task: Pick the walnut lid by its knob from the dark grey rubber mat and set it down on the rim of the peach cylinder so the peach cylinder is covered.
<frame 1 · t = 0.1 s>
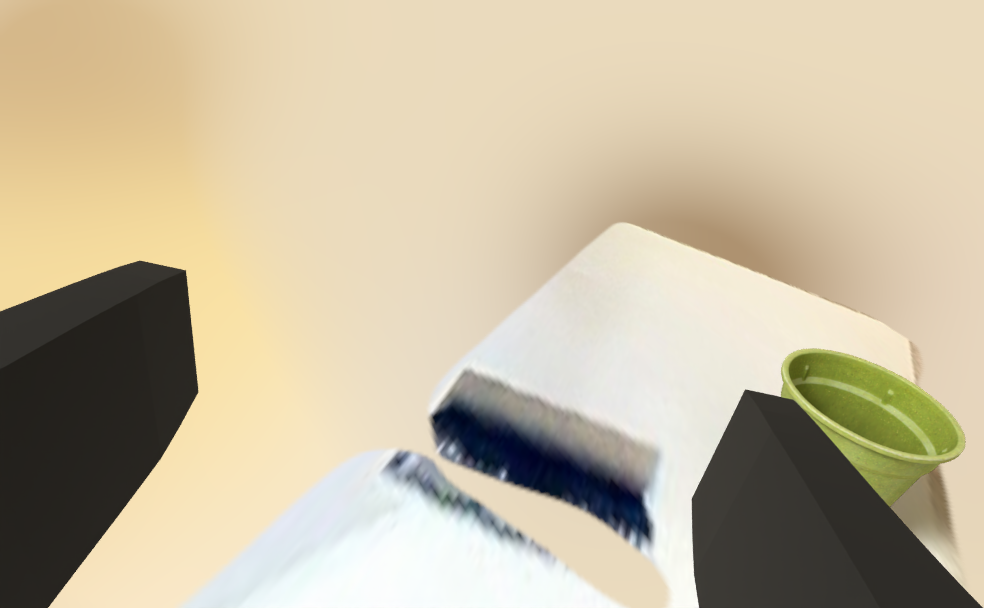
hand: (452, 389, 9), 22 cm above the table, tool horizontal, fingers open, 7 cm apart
plant pot: (803, 512, 41), on the table
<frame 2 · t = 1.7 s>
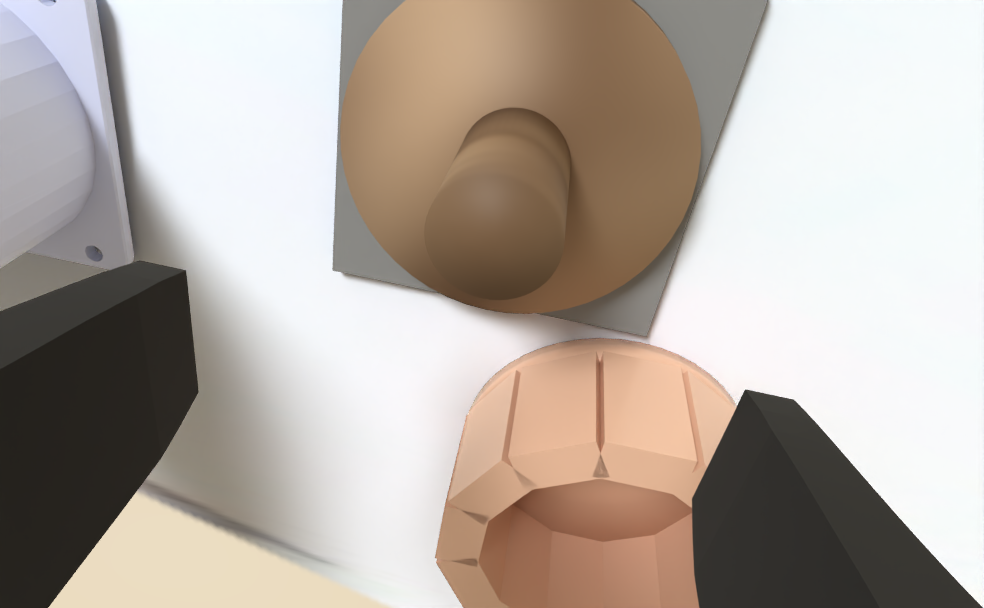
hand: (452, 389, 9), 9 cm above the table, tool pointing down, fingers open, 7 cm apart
lid: (518, 151, 16), resting on mat
peach cylinder: (601, 451, 22), on the table
mat: (519, 146, 17), on the table
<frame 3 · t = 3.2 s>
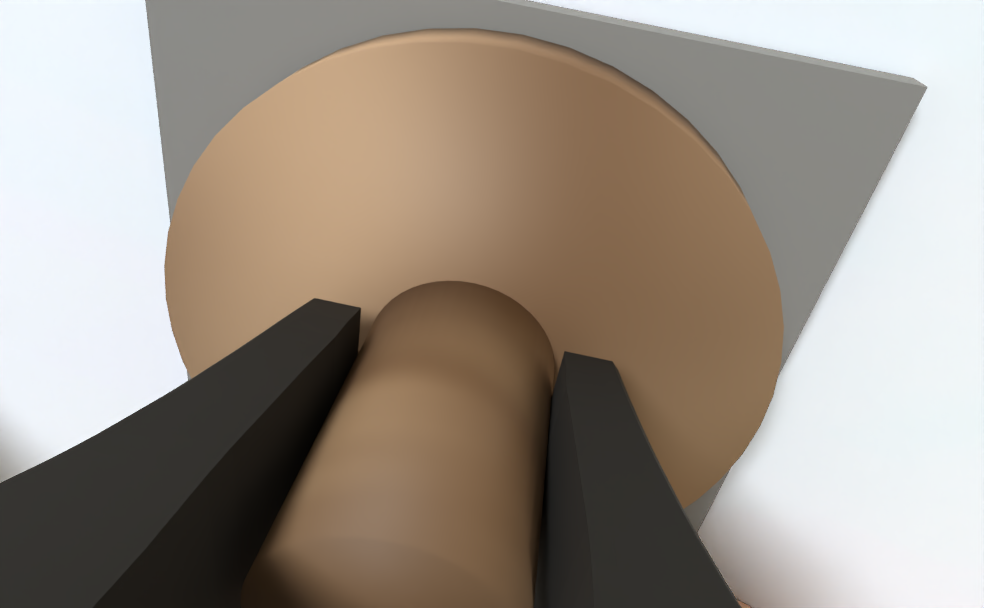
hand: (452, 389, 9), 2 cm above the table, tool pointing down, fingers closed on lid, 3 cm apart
lid: (469, 329, 10), resting on mat, touching gripper
mat: (473, 314, 10), on the table
when the fingers open (7 cm above the table, at t = 5.4 s): lid stays where it is, resting on peach cylinder.
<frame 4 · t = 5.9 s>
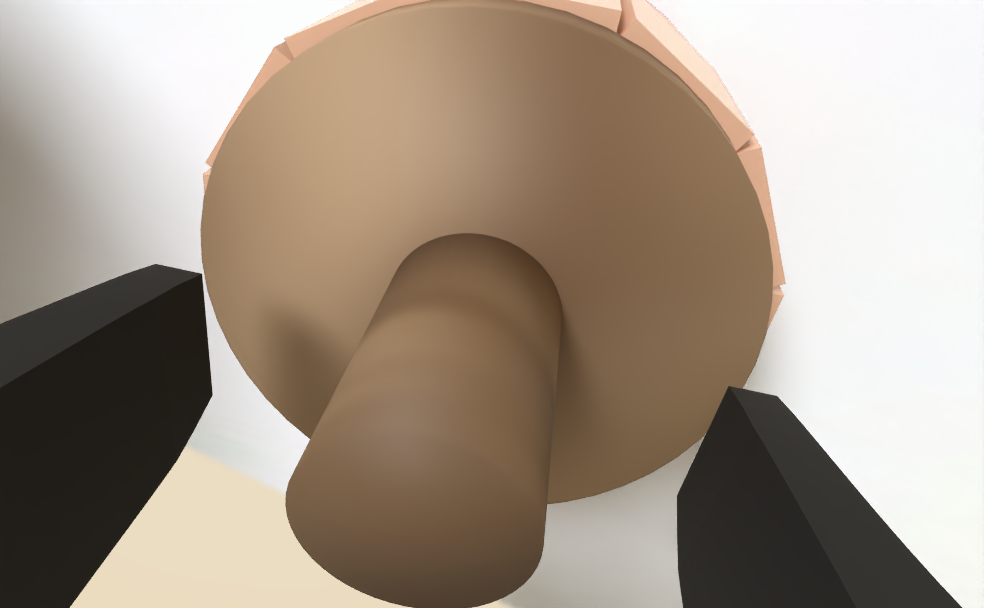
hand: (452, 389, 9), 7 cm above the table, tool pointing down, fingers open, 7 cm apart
lid: (482, 284, 11), point 4 cm above the table, touching peach cylinder
peach cylinder: (509, 188, 14), on the table
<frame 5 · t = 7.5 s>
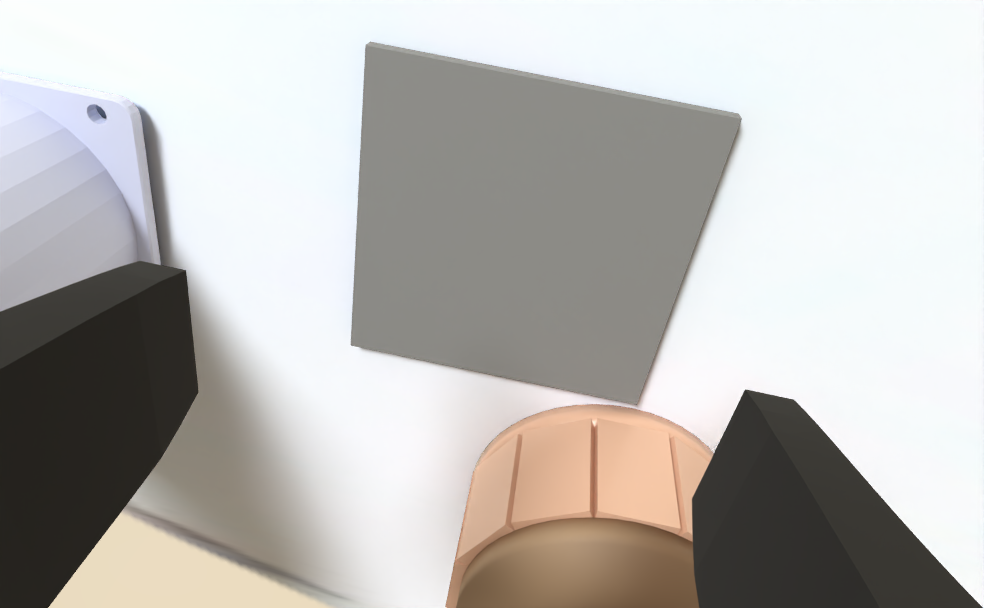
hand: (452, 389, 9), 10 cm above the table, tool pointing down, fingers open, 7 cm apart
peach cylinder: (597, 502, 24), on the table
mat: (520, 241, 19), on the table
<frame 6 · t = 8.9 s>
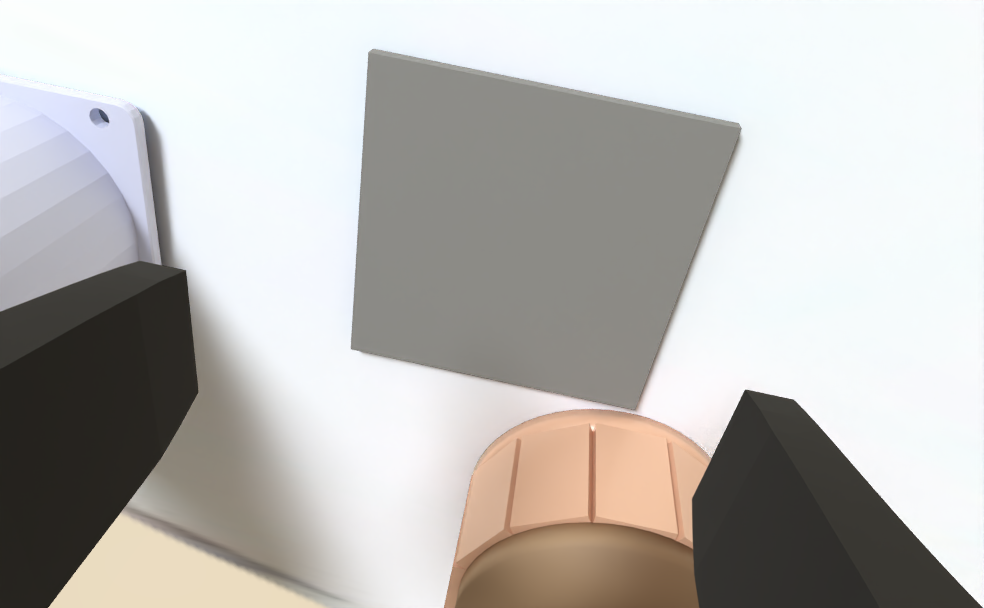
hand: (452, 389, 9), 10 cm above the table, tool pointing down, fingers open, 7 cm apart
peach cylinder: (595, 506, 24), on the table
mat: (520, 247, 19), on the table
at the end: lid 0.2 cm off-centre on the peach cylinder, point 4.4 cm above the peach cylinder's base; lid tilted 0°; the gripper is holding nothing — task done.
